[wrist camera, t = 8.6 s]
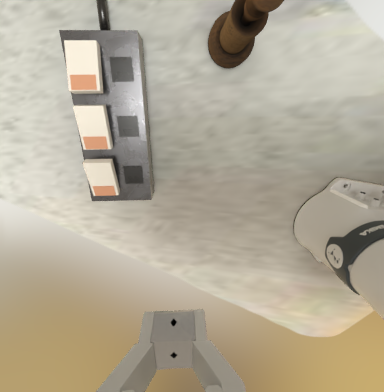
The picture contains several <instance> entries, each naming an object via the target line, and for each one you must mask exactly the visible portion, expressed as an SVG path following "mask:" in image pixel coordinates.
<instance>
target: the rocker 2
mask: <svg viewBox="0 0 384 392" xmlns="http://www.w3.org/2000/svg"><path fill="white" fill-rule="evenodd" d="M82 164H83V167H84V169H85V172H86V175H87V178H88V181H89V184H90V187H91V190H92V193H93V195H94V196H111V195H119V193H120V188H119V184H118V180H117V176H116V172H115V168H114V164H113V159H85V160H84V162H83V163H82Z"/></svg>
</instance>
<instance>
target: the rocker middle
mask: <svg viewBox="0 0 384 392" xmlns="http://www.w3.org/2000/svg"><path fill="white" fill-rule="evenodd" d="M73 109H74V113H75V117H76V121H77V125H78V129H79V133H80V137H81V141H82V145H83V149H84V150H94V149H112V148H113V142H112V137H111V131H110V126H109V120H108V115H107V109H106V105H74V106H73Z"/></svg>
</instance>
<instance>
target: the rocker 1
mask: <svg viewBox="0 0 384 392" xmlns="http://www.w3.org/2000/svg"><path fill="white" fill-rule="evenodd" d="M64 46H65V56H66V66H67V77H68V87H69V91H70V92H72V93H73V94H96V93H103V81H102V68H101V55H100V45H99V43H98V42H97V41H96V40H64Z"/></svg>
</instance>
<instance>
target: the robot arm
mask: <svg viewBox="0 0 384 392" xmlns="http://www.w3.org/2000/svg"><path fill="white" fill-rule="evenodd" d="M344 184H345V186H344ZM343 186H344V187H343ZM294 233H295V237H296V239H297V241H298V242H299V243H300V244H301V245H302V246H303V247H305V248H306V249H308V250H309V251H310V252H311V253H312V255H313V256H314V258H315V259H316V260H317V261H319V262H323V263H324V264H325V265H326V266H328V267H329V268H330V269H331V270H332V271H333V272H335V273H336V274H337V276H338V277H339V278H340V279H341V280H342V281H343V282H344V284H345V285H346V286H347V287H349V288H350V289H351V290H352V291H353V292H355V293H356V294H359V295H361V296H362V297H363V298H364V300H365V301H366V302H367V303H368V304H369V305H370V306H371V307H372V308H373V309H374V310H375V311H376V312H377V313H378V314H379V315H380V316H381V317H382V318H383V319H384V185H379V184H373V183H368V182H362V181H357V180H351V179H345V178H336V179H334V180H333V181H332V182H331V183H330V184H329V185H328V186H327V187H326V188H325V189H324V190H323V191H322V192H320V193H318V194H317V195H315V196H313V197H312V198H311V199H309V200H308V201H307V202H306V203H305V204H304V205H303V206H302V208H301V209H300V211H299V212H298V214H297V216H296V219H295V223H294ZM172 368H193V370H194V372H195V374H196V376H197V377H198V379H199V381H200V383H201V385H202V386H203V388H204V390H205V392H246V389H245V385H244V382H243V381H242V380H241V379H240V377H239V376H238V374H237V373H236V372H235V371H234V369H233V368H232V367H231V366H230V364H229V363H228V362H227V360H226V359H225V358H224V357H223V355H222V354H221V353H220V352H219V350H218V349H217V348H216V346H215V345H214V344H213V343H212V342H211V340H207V331H206V323H205V314H204V310H203V309H198V310H179V311H155V312H145V313H144V315H143V320H142V325H141V332H140V336H139V342H138V344H135V345H134V346H133V347H132V348H131V349H130V351H129V352H128V353H127V354H126V356H125V357H124V358H123V359H122V360H121V362H120V363H119V364H118V365H117V366H116V368H115V369H114V370H113V371H112V373H111V374H110V375H109V376H108V377H107V379H106V380H105V381H104V382H103V384H102V385H101V386H100V387H99V388H98V390H97V391H96V392H145V391H146V389H147V387H148V385H149V383H150V382H151V380H152V378H153V377H154V375H155V373H156V370H160V369H172Z"/></svg>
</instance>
